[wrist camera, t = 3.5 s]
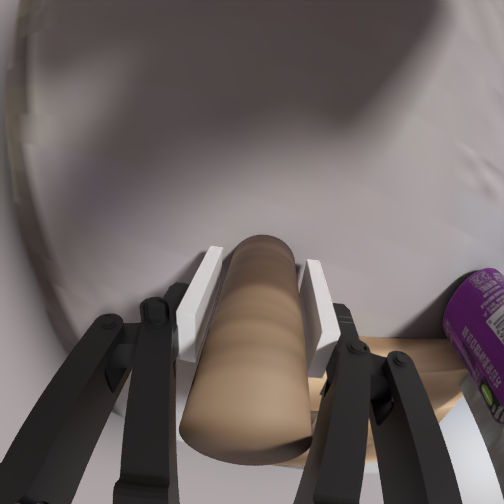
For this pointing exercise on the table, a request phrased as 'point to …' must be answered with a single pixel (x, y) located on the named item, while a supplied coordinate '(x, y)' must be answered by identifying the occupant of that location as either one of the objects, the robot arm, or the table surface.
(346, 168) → the table surface
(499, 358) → the beverage can
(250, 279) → the peg
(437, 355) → the socket station
